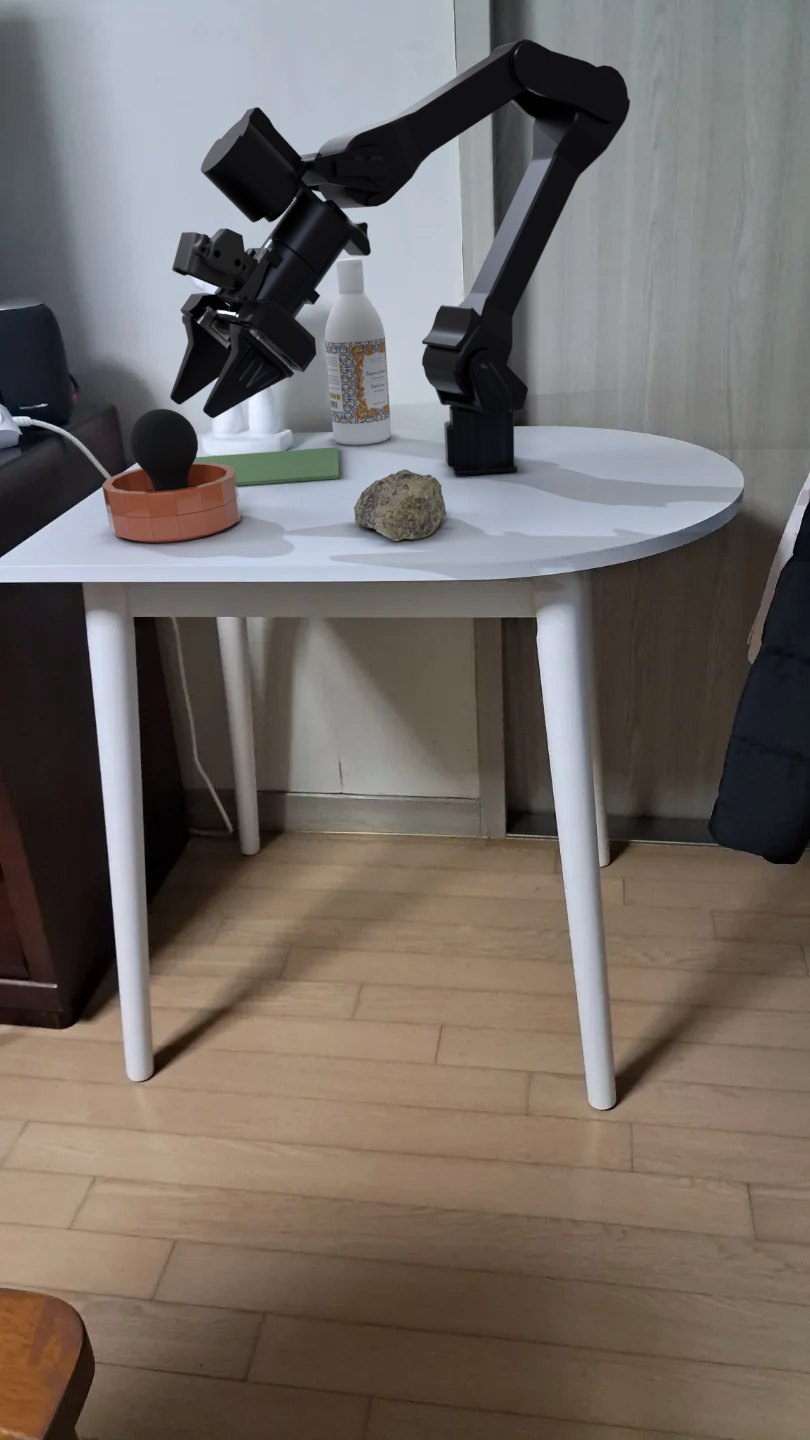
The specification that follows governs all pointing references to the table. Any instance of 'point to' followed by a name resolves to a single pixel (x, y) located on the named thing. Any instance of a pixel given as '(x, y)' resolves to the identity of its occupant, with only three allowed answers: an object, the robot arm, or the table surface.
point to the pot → (172, 505)
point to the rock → (402, 506)
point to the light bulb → (164, 448)
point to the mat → (281, 465)
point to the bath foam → (356, 362)
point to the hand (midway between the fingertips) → (190, 407)
